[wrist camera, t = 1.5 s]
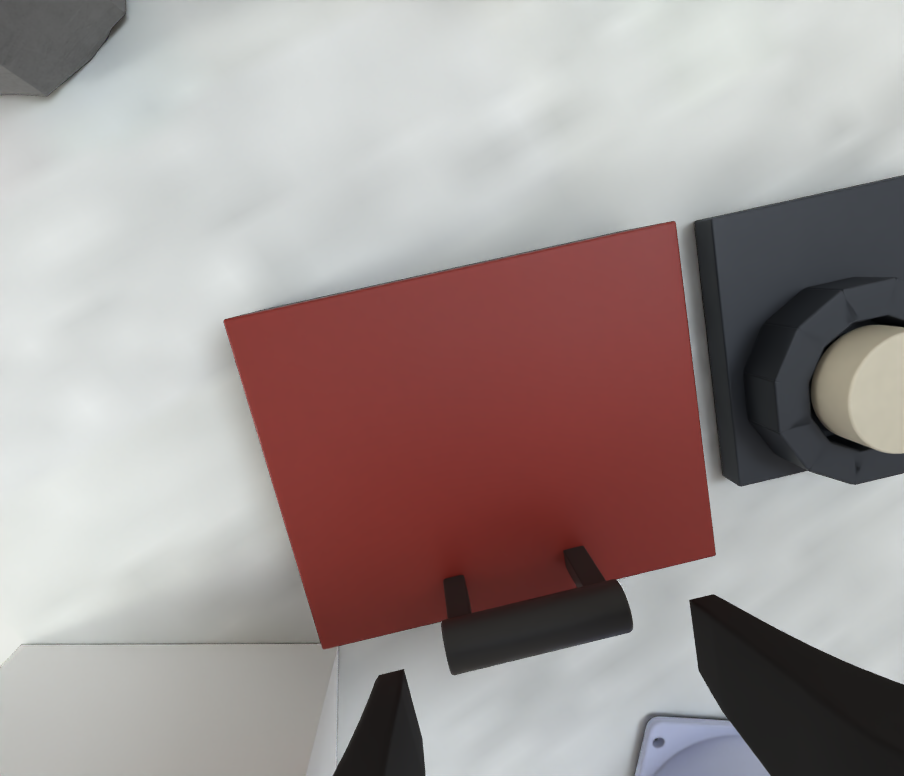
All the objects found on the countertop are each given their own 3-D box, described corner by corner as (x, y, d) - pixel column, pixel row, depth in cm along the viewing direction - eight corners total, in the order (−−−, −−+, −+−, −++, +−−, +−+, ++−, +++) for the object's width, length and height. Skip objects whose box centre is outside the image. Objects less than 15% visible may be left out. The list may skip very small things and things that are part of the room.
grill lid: (707, 547, 19) (789, 622, 15) (324, 639, 19) (302, 741, 15) (667, 222, 17) (751, 205, 13) (228, 318, 16) (169, 333, 12)
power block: (912, 431, 23) (987, 455, 20) (722, 476, 22) (770, 507, 19) (903, 175, 20) (986, 158, 17) (693, 221, 20) (742, 212, 17)
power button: (922, 424, 20) (970, 439, 18) (813, 450, 19) (852, 467, 18) (918, 312, 19) (969, 316, 17) (805, 338, 19) (845, 345, 17)
